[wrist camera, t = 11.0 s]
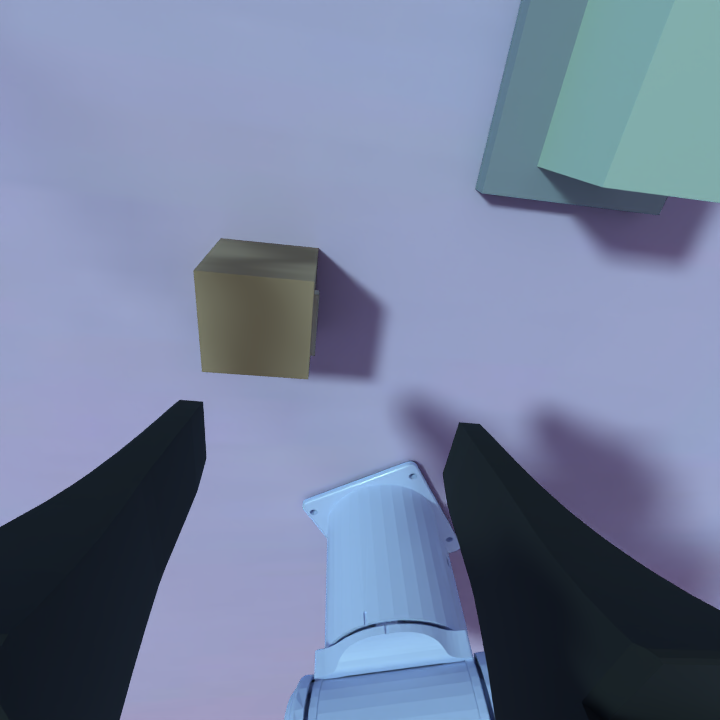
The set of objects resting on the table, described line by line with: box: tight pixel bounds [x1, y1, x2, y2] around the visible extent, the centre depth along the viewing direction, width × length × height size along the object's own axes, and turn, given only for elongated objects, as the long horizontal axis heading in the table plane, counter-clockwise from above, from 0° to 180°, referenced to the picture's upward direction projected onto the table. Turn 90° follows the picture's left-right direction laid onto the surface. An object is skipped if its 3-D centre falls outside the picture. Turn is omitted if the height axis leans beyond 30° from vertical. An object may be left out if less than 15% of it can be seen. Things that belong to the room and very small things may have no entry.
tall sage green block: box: [537, 0, 720, 203], centre depth 13 cm, size 8×4×5 cm, turn 173°
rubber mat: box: [476, 0, 668, 215], centre depth 16 cm, size 11×8×1 cm
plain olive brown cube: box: [194, 238, 319, 379], centre depth 19 cm, size 5×4×4 cm
